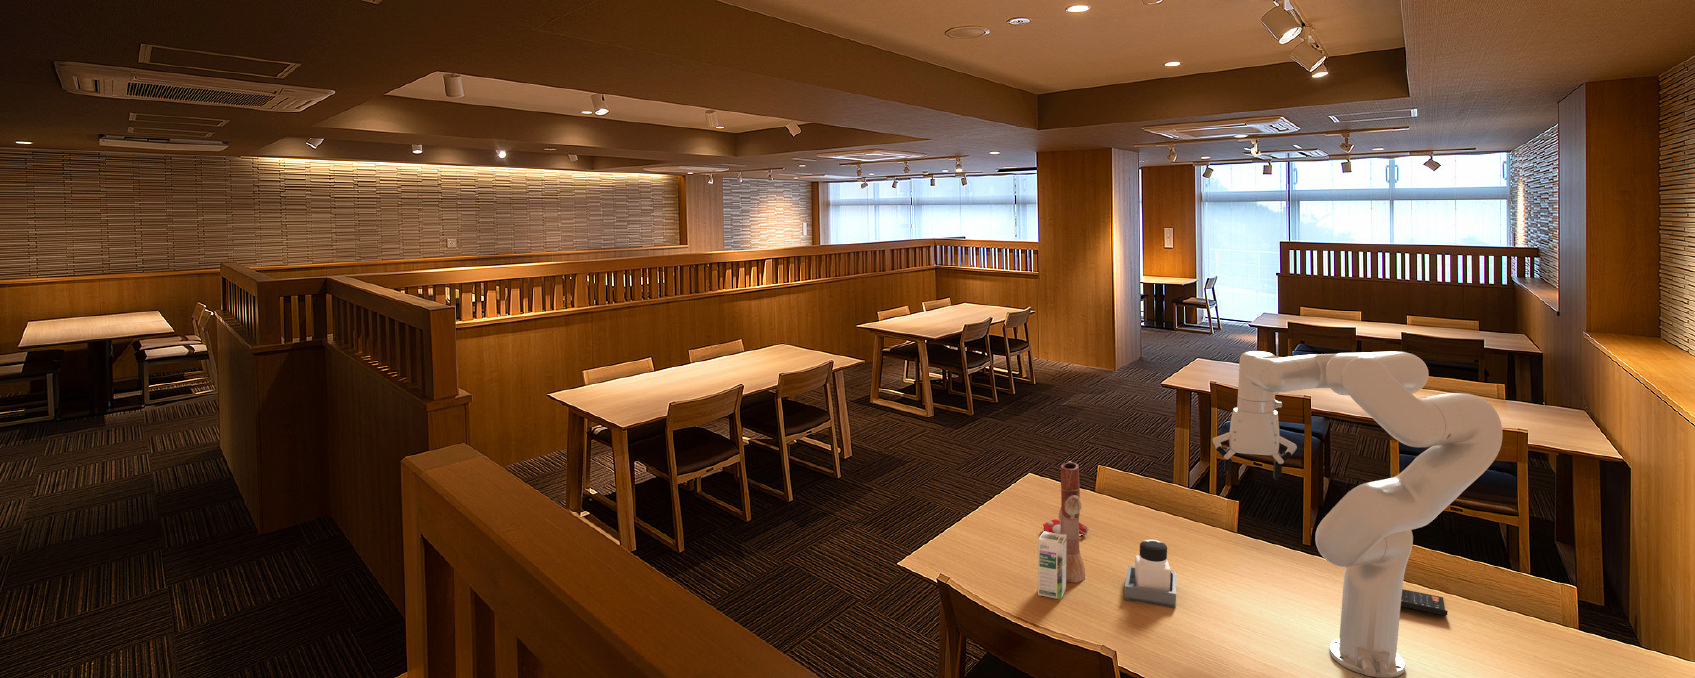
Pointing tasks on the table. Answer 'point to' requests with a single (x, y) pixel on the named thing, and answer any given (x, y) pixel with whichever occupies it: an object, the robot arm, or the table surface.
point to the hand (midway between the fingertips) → (1252, 476)
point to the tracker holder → (1055, 527)
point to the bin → (1149, 591)
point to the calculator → (1423, 602)
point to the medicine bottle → (1153, 566)
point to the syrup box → (1052, 565)
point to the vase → (1071, 520)
